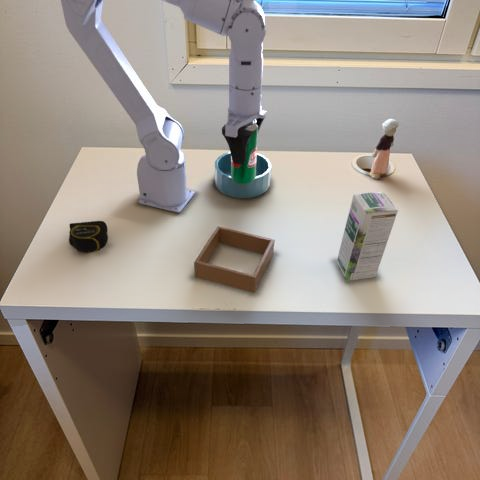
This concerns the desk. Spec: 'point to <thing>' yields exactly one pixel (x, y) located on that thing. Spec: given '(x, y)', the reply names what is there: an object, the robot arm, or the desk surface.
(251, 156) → the soda can
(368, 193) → the syrup box
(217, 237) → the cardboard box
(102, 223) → the tape measure
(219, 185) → the bowl
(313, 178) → the desk surface
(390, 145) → the grandmother figurine
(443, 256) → the desk surface
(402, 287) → the desk surface
